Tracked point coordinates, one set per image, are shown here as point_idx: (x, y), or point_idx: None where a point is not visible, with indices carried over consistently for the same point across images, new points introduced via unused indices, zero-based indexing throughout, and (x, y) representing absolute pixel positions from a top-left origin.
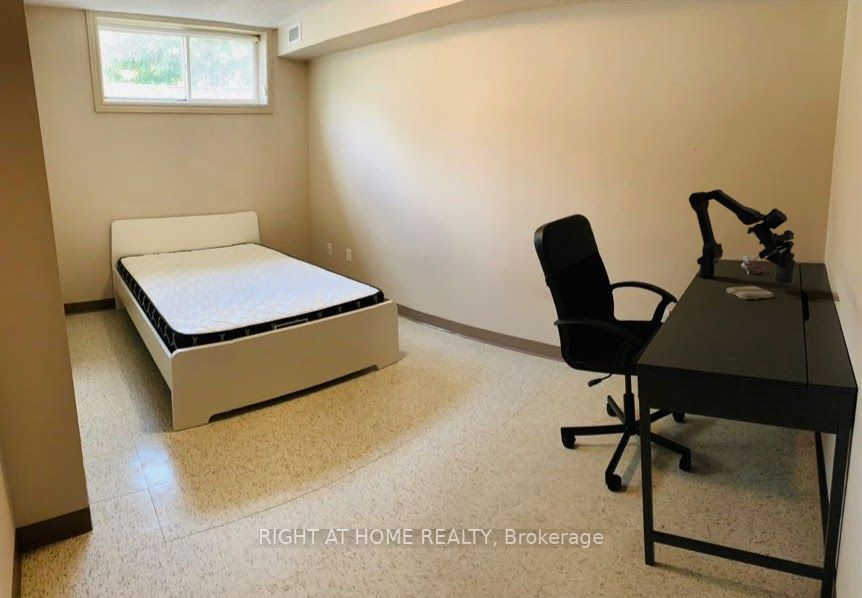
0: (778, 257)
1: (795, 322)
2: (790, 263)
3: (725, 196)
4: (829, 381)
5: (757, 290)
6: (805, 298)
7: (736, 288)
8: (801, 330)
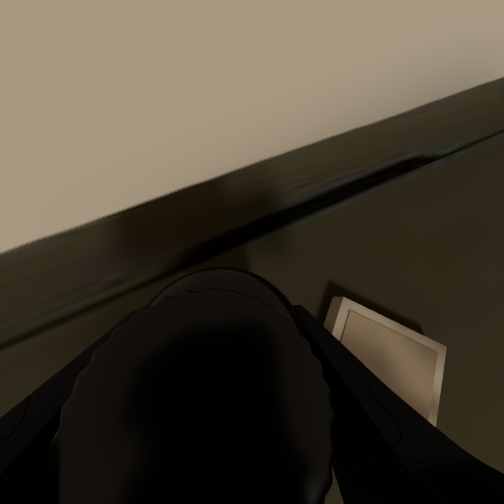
0: (422, 422)
1: (459, 165)
2: (274, 286)
3: None
4: None
5: (362, 356)
6: (256, 225)
7: None
8: (486, 142)
